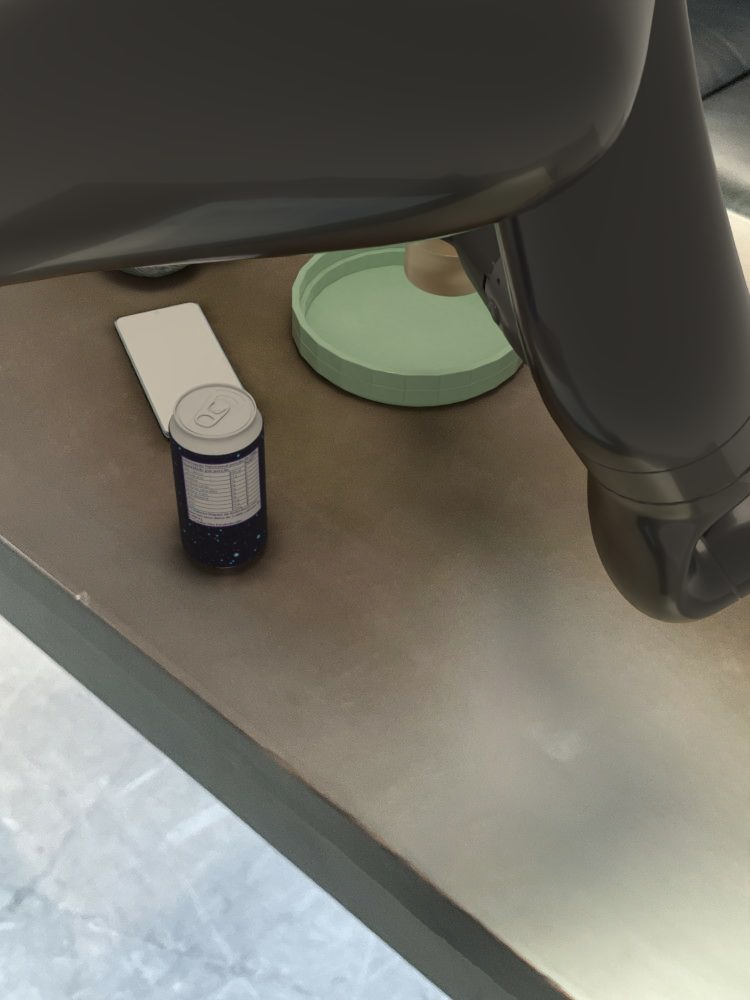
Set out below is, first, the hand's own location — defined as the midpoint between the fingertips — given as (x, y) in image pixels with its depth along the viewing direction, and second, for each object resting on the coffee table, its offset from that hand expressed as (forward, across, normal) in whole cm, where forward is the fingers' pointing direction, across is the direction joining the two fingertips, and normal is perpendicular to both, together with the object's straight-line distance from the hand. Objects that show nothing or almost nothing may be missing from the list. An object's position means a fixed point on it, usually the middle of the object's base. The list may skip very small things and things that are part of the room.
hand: (443, 118), depth 69 cm
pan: (+10, -3, +24) cm, 26 cm away
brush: (-3, 0, +9) cm, 9 cm away
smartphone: (+9, +16, +24) cm, 30 cm away
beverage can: (-9, +16, +24) cm, 31 cm away
